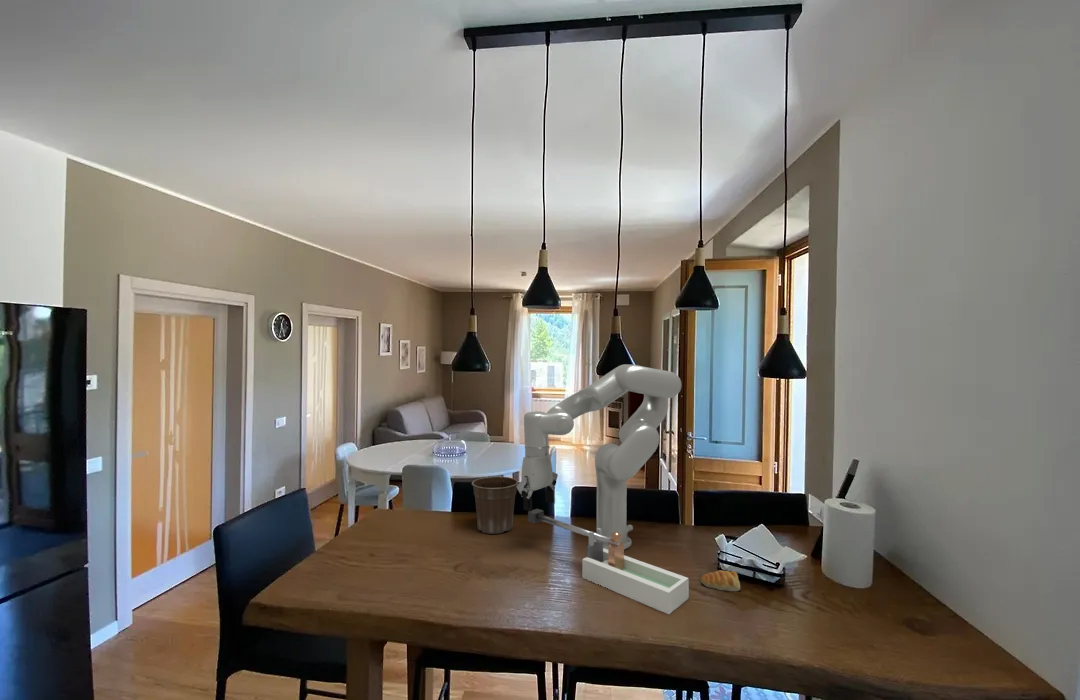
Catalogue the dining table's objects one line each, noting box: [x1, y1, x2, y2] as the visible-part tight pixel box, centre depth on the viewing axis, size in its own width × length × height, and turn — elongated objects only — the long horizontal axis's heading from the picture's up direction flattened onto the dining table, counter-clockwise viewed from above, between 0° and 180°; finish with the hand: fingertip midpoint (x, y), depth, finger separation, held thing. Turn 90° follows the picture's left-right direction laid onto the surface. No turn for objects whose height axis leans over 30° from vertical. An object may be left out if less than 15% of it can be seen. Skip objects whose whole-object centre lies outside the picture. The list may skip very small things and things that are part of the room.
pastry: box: [700, 569, 741, 592], centre depth 120 cm, size 9×7×4 cm
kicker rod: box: [527, 508, 625, 570], centre depth 133 cm, size 4×33×10 cm, turn 46°
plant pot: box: [471, 476, 519, 535], centre depth 160 cm, size 16×16×16 cm
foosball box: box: [581, 527, 690, 615], centre depth 119 cm, size 10×26×12 cm, turn 46°
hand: (539, 506), depth 143 cm, fingers open, 9 cm apart
